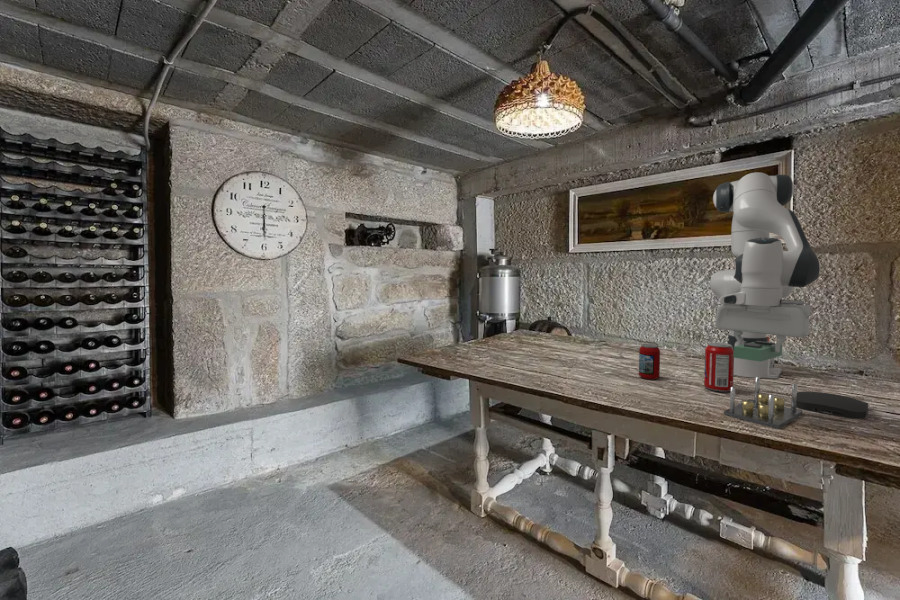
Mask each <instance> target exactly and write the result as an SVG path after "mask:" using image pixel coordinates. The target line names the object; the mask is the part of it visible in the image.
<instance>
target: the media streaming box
mask: <svg viewBox="0 0 900 600" xmlns="http://www.w3.org/2000/svg"><path fill="white" fill-rule="evenodd" d="M796 408H798V409H801V410H805V411H810V412H814V413H820V414H825V415H829V416H836V417H841V418H845V419H846V418H847V419H854V420H863V419H866V418H867V416H868V410H869V403H868V402H866V401H863V400H859V399H856V398H854V397H849V396H846V395H841V394H835V393H828V392H822V391H821V392H819V391H797V401H796Z"/></svg>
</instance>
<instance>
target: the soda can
mask: <svg viewBox="0 0 900 600" xmlns="http://www.w3.org/2000/svg"><path fill="white" fill-rule="evenodd" d="M733 357H734V350H733V348H732V345H730V344H728V343H722V342H709V343H707V346H706V347H705V349H704V371H703V372H704V374H703V376H704V377H703V379H704V380H703V385H704V387H705V388H706V389H708V390H709V391H712V390H713V391H712V392H716V391H719V392H718V393H728V392H731V387H734V376H735V375H734V358H733Z"/></svg>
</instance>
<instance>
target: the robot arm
mask: <svg viewBox="0 0 900 600" xmlns="http://www.w3.org/2000/svg"><path fill="white" fill-rule="evenodd" d="M794 194H795V184H794V182H793V180H792V177H791V176H789V175H788V174H776V175H768V174H767V173H765V172H759V171H758V172H750V173H748V174H745V175H744V176H742V177H741V178H740V179H739V180H735V181H731V182H730V181H727V182H723V183H720V184H719V185H718V186H717V187H716V189H715V191H714V192H713V196H712V202H713V204H714V207H715V208H716V210H717V211H718V212H720V213H730V212H732V213H733V215H732V222H731V230H730V231H731V237H730V238H731V242H730V243H731V248H730V249H731V253H732V255H733V256H734V257H736V258H735V259H734V260H733V261H734V269H731V268H730V269H724V270H720V271H716V272H715V273H714V274H713V275H712V276H711V278H710V281H709V288H710V290H711V292H712V293H713V295H715V296H717V297H718V299H719V303H720V305H719V306H718V308H717V310H716V314H715V321H714V322H715V327H716V328H717V329H718V330H723V331H724V330H725V331H729V334H727V344H730V345H732V348H733V350H734V346H738V345H742V344H747V343H751V342H754V341H764V342H770V339H771V338H770V336H767V335H771V336H772V335H773V336H776V340H777V341H776V343H775V344H776V345H771V352H777V353H778V352H780V345H782V346H783V344H784V343H785V342H786V340H787V337H791V338H792V337H793V338H801V339H802V338H806V337H807V336H808V335H810V332H811V328H810V326H811V325H810V318H809V317H811V314H812V307H811V305H810V304H809V303H807V302H805V301H804V300H799V299H796V300H794V299H784V298H787V297H789V296H790V295H791V293H793V290H794V289H795V288H804V287H807V286H809V285H810V284H812V283H814V282H816V281H817V280H818V279H819V277H820V273H821V272H820V270H821V264H820V260H819V259H818V258H819V257H818V256H817V254H816V253H815V252H814V250H813V248H812V247H811V245H810V242H809V240H808V238H807V236H806V234H805V232H804V230H803V227H802V225H801V223H800V220H799V219H798V217H797V215H796V214H795V212H794V211H793V210H791V209H788V208H786V207H785V206H786V205H787V204H789V202H790V201H792V198H793V196H794ZM770 234H774V235H776V236H779V237H780V238H782V240H783V241H784V243H785V246H786V248H787V250H784V248H783V242H782V240H781V239H779V238H776V237H770ZM782 371H783V369H782V368H780V367H776V366H775V357H774V358H771V359H768V360H764V361H761V362H759V361H753V360H746V359H740V358H734V376H738V377H745V378H752V379H753V378H755V379H756V377H760V379H778V378H779V377H780V375H781V373H782Z"/></svg>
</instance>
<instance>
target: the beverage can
mask: <svg viewBox="0 0 900 600" xmlns="http://www.w3.org/2000/svg"><path fill="white" fill-rule="evenodd" d="M638 355H639V356H638V376H639V377H641V378H642V379H644V380H648V381H649V380H652V381H653V380H655V381H656V380H657V379H659V378H660V372H661V371H660V370H661V369H660V368H661V367H660V366H661V349H660V348H659V345H657V344H652V343H643V344H641V346H640V347H639V351H638Z"/></svg>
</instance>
